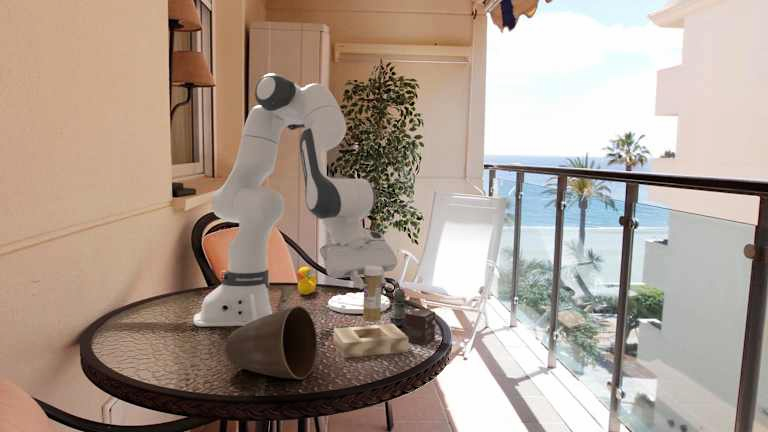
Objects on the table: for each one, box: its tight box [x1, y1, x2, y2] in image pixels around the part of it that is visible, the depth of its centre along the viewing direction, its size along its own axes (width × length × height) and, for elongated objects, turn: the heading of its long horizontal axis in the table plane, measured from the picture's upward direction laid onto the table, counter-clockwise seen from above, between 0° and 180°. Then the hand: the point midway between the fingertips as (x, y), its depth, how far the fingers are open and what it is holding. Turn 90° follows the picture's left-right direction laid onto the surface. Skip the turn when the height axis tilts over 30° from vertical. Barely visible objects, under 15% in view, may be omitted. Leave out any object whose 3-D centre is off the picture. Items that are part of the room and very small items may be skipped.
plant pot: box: [225, 305, 318, 380], centre depth 110 cm, size 15×15×16 cm
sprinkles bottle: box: [362, 265, 382, 323], centre depth 128 cm, size 5×5×14 cm
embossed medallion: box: [327, 291, 390, 315], centre depth 167 cm, size 20×20×3 cm
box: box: [404, 308, 436, 345], centre depth 134 cm, size 6×6×7 cm
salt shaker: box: [388, 285, 406, 332], centre depth 143 cm, size 6×6×12 cm
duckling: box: [296, 266, 317, 296], centre depth 184 cm, size 11×5×10 cm, turn 160°
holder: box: [333, 323, 409, 359], centre depth 128 cm, size 16×12×4 cm
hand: (373, 286), depth 127 cm, fingers closed on sprinkles bottle, 4 cm apart
